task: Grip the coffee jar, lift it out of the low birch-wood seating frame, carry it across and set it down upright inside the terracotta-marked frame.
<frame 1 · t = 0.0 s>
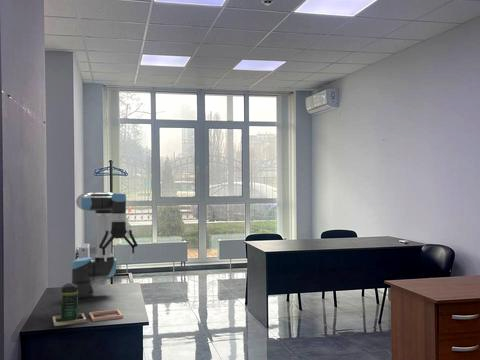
hand: (118, 260, 250), 28 cm above the table, tool pointing down, fingers open, 13 cm apart
coffee jar: (69, 321, 233), resting in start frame
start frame: (69, 320, 233), on the table
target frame: (105, 316, 241), on the table
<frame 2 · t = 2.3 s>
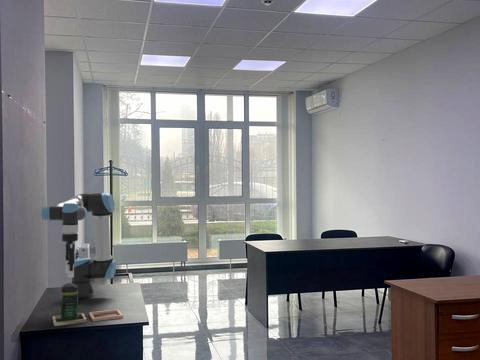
hand: (69, 275, 233), 23 cm above the table, tool pointing down, fingers open, 13 cm apart
nothing on the table moved.
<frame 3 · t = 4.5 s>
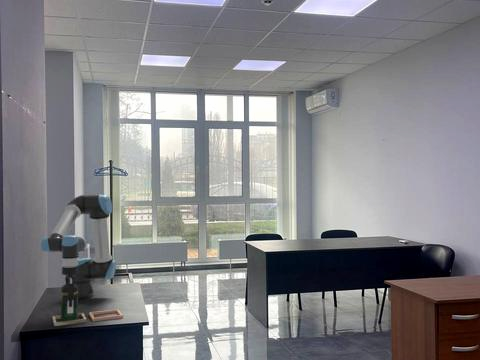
hand: (69, 310, 233), 5 cm above the table, tool pointing down, fingers closed on coffee jar, 9 cm apart
coffee jar: (69, 321, 233), resting in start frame, touching gripper
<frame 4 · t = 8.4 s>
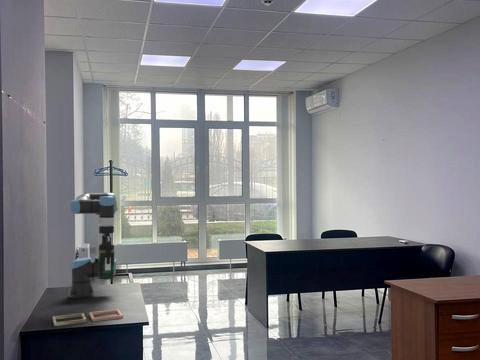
hand: (106, 268, 241), 25 cm above the table, tool pointing down, fingers closed on coffee jar, 9 cm apart
coffee jar: (106, 278, 241), point 20 cm above the table, touching gripper
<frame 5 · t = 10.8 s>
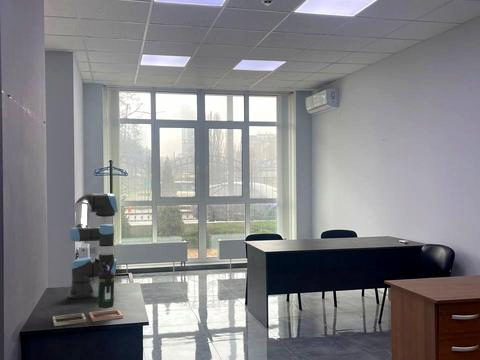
hand: (106, 297, 241), 10 cm above the table, tool pointing down, fingers closed on coffee jar, 9 cm apart
coffee jar: (105, 307, 241), point 5 cm above the table, touching gripper
when the fingers open (6 cm above the table, at t = 12.6 s): coffee jar drops 1 cm, resting in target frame.
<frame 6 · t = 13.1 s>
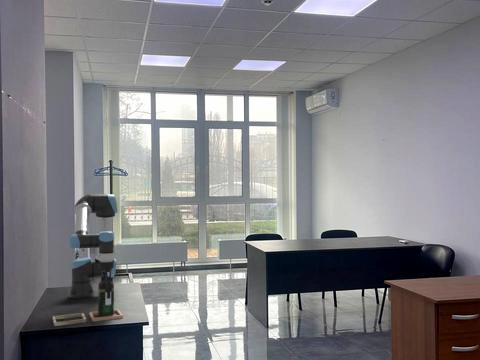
hand: (106, 301, 241), 8 cm above the table, tool pointing down, fingers open, 13 cm apart
coffee jar: (105, 317, 241), resting in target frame
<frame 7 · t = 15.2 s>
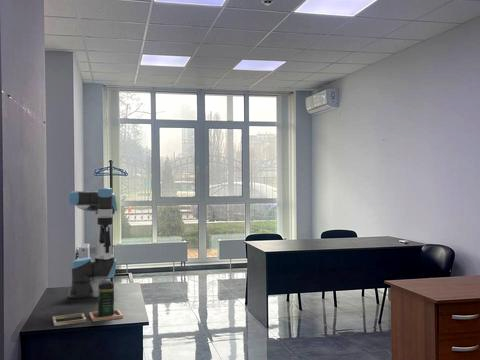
hand: (104, 257, 243), 31 cm above the table, tool pointing down, fingers open, 13 cm apart
nothing on the table moved.
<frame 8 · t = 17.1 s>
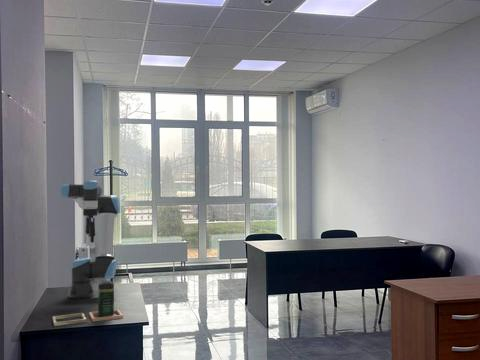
hand: (90, 247, 254), 35 cm above the table, tool pointing down, fingers open, 13 cm apart
nothing on the table moved.
at the end: coffee jar 0.0 cm off-centre on the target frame, point 0.0 cm above the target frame's base; coffee jar tilted 0°; the gripper is holding nothing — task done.
